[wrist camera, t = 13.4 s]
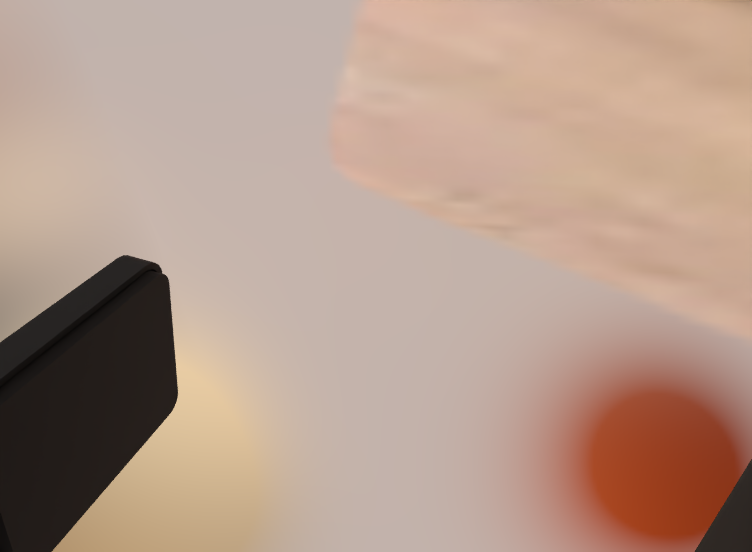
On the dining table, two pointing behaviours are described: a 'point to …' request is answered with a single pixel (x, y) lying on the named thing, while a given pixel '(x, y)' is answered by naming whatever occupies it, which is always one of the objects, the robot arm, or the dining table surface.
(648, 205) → the dining table surface
